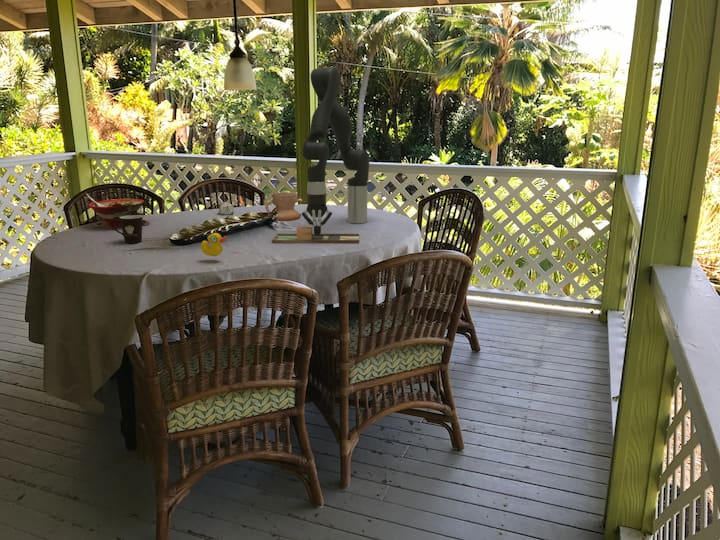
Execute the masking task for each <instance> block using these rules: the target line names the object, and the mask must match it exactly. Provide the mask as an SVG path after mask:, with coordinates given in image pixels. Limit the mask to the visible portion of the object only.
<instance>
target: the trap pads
mask: <svg viewBox="0 0 720 540" xmlns="http://www.w3.org/2000/svg"><path fill="white" fill-rule="evenodd" d="M323 237H324V236H313V237H312V240H323ZM328 240H340V236H328Z"/></svg>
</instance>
